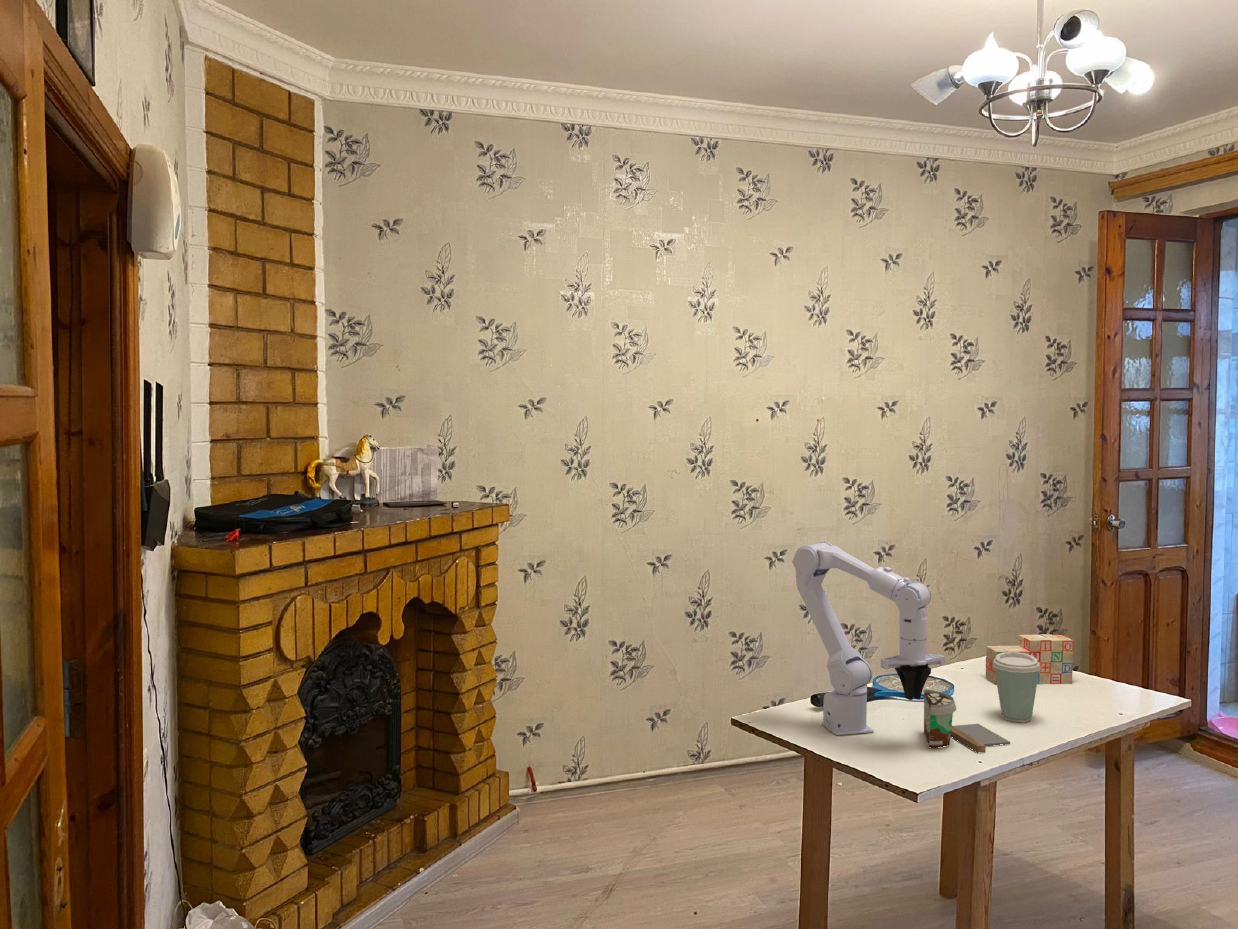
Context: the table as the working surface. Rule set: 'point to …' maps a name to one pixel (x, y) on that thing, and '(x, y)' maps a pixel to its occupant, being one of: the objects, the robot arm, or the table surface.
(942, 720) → the food container
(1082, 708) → the table surface
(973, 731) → the rubber mat
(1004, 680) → the disposable coffee cup
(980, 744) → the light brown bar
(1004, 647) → the stack of blocks
